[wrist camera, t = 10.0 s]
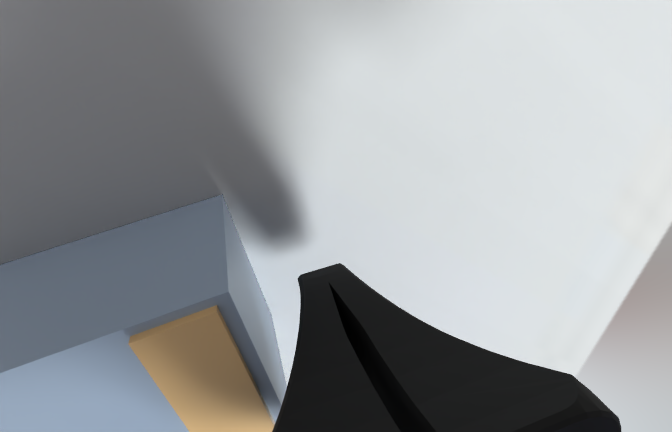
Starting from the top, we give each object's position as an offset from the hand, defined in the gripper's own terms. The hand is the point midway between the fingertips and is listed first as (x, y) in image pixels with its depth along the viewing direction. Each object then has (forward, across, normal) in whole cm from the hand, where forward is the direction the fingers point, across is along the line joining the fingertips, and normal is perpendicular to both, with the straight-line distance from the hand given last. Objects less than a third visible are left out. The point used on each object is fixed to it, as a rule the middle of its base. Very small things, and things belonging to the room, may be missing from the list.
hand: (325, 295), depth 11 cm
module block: (+2, +6, 0) cm, 6 cm away
